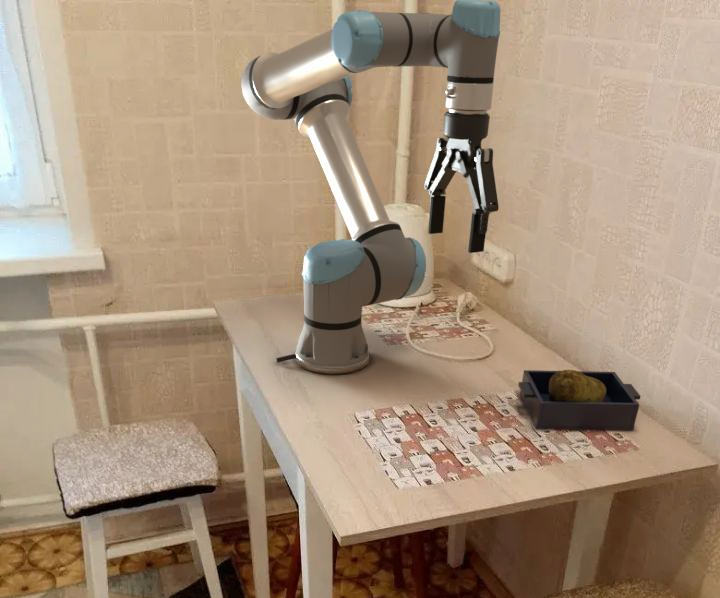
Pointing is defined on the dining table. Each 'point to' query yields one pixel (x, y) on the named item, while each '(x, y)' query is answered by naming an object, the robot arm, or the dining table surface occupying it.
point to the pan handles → (529, 393)
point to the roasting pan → (581, 405)
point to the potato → (575, 387)
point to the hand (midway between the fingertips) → (454, 242)
